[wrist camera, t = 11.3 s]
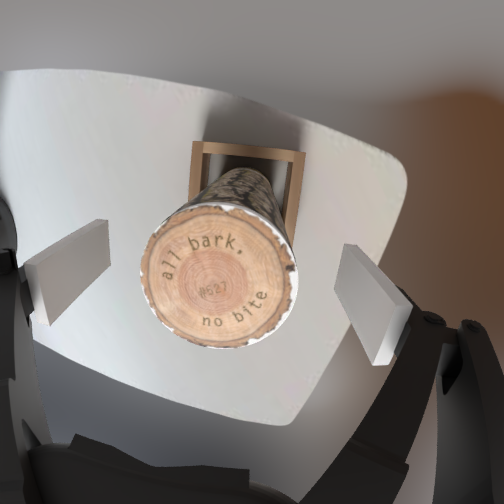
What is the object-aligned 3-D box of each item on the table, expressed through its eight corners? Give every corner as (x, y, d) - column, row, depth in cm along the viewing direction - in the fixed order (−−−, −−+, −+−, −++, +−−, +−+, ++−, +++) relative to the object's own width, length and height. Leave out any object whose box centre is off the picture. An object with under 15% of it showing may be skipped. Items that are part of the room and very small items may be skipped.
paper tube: (209, 175, 35) (116, 233, 11) (262, 159, 34) (273, 181, 10) (226, 226, 37) (176, 359, 13) (278, 211, 36) (313, 330, 13)
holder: (194, 234, 37) (186, 247, 33) (201, 142, 33) (192, 141, 29) (286, 244, 38) (290, 258, 33) (299, 152, 34) (305, 152, 29)
